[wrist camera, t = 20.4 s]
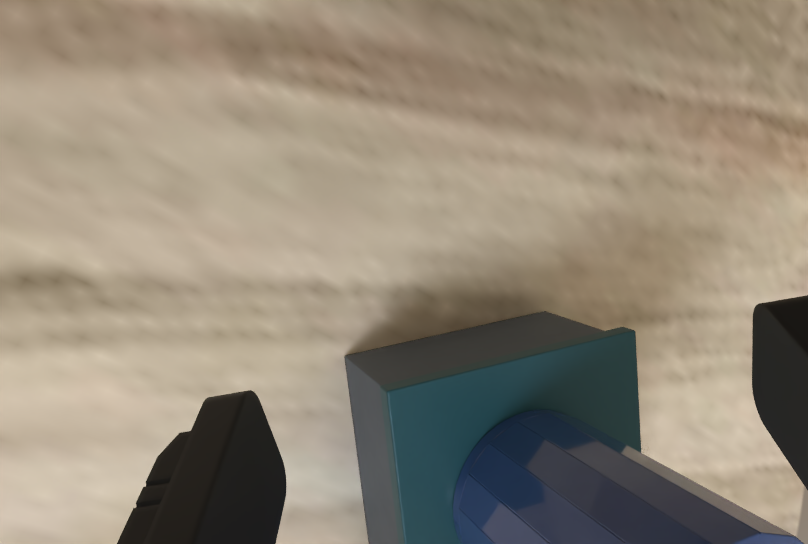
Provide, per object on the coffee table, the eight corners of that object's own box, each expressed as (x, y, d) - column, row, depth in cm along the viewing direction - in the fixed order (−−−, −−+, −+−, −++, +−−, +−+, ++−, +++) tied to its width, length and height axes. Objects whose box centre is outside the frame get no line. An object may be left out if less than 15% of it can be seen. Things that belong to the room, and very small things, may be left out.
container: (336, 350, 30) (386, 391, 24) (550, 303, 33) (636, 329, 28) (366, 576, 32) (418, 661, 26) (565, 508, 35) (647, 570, 30)
